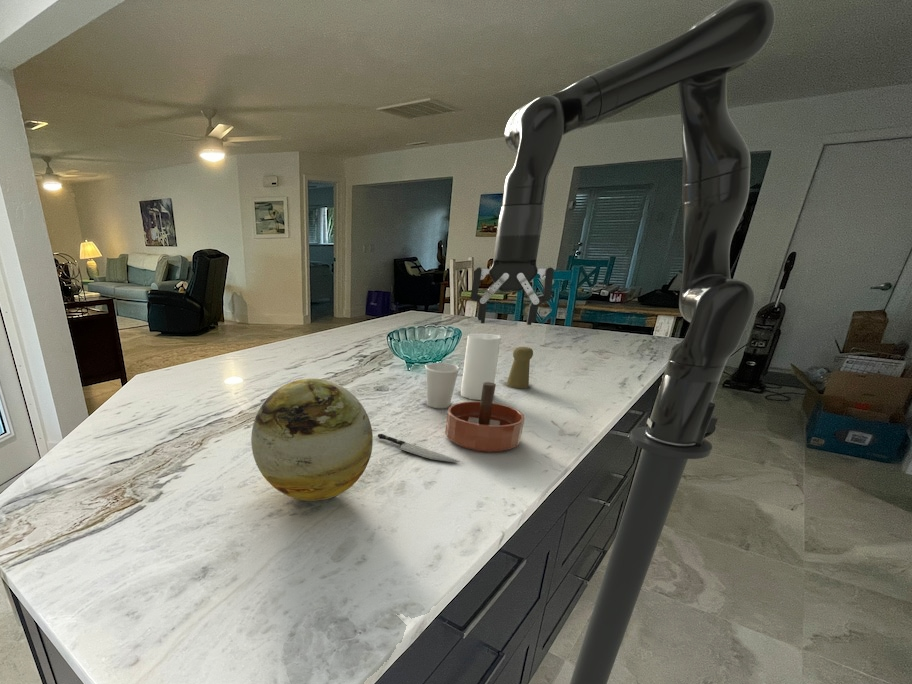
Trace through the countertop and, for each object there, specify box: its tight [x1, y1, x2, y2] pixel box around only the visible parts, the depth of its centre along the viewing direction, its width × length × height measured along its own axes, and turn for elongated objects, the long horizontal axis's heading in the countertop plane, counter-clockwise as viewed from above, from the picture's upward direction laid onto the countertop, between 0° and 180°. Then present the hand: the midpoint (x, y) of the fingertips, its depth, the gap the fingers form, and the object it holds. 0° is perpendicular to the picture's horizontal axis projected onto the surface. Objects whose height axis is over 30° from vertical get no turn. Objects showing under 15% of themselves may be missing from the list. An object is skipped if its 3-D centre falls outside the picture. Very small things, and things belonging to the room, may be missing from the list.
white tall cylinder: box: [460, 332, 502, 401], centre depth 124 cm, size 8×8×16 cm
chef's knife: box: [377, 433, 461, 463], centre depth 95 cm, size 19×1×3 cm
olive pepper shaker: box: [506, 346, 534, 389], centre depth 133 cm, size 6×6×11 cm
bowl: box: [444, 400, 525, 453], centre depth 99 cm, size 15×15×6 cm
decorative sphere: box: [250, 378, 374, 502], centre depth 77 cm, size 20×20×20 cm
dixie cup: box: [424, 362, 460, 409], centre depth 119 cm, size 8×8×10 cm
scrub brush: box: [468, 382, 500, 426], centre depth 98 cm, size 6×4×12 cm
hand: (505, 323), depth 92 cm, fingers open, 8 cm apart
